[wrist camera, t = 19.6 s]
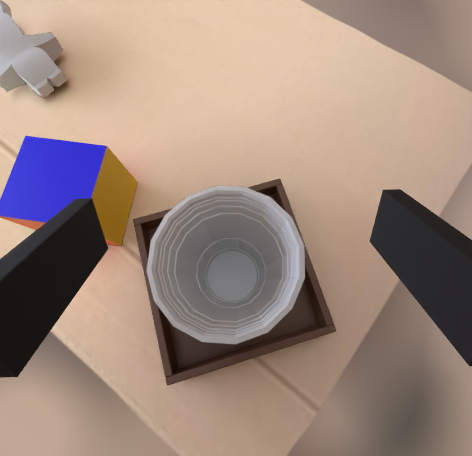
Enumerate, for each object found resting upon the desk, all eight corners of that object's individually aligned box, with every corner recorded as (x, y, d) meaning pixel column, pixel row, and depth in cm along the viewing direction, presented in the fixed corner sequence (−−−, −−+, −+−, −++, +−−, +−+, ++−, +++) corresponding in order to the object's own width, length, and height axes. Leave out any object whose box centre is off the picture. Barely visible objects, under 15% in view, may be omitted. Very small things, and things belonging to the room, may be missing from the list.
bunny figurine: (9, 95, 32) (-76, 16, 33) (37, 120, 37) (-38, 51, 38) (72, 47, 34) (-10, -27, 35) (90, 77, 39) (18, 12, 40)
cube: (137, 182, 33) (106, 146, 25) (121, 246, 31) (82, 227, 23) (74, 174, 34) (25, 135, 26) (54, 236, 32) (-6, 215, 24)
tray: (326, 328, 29) (336, 331, 26) (174, 376, 28) (166, 385, 25) (276, 189, 33) (280, 178, 30) (142, 227, 32) (132, 219, 29)
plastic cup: (196, 217, 31) (171, 167, 20) (288, 239, 31) (319, 201, 19) (167, 312, 29) (118, 319, 17) (267, 339, 28) (288, 367, 16)
